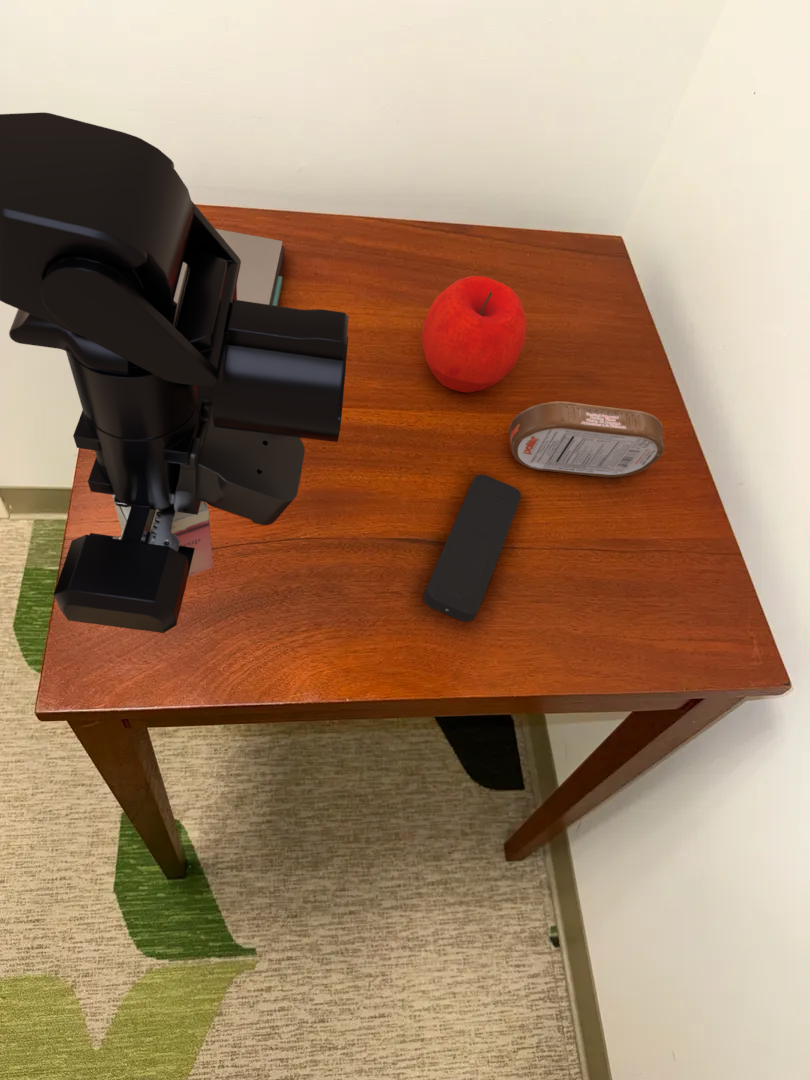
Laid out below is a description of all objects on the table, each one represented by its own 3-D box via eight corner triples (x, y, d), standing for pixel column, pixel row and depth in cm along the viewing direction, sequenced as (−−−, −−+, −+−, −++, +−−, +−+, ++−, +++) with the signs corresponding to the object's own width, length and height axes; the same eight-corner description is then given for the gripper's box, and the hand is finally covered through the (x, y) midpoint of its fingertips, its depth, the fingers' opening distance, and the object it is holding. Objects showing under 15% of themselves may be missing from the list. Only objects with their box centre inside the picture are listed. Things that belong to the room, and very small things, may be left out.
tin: (639, 461, 79) (677, 409, 72) (643, 487, 77) (684, 436, 70) (497, 446, 77) (523, 391, 69) (499, 472, 75) (526, 418, 68)
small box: (144, 594, 52) (129, 536, 45) (124, 543, 54) (106, 479, 47) (215, 569, 54) (211, 509, 47) (194, 520, 56) (186, 456, 49)
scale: (153, 335, 76) (150, 314, 74) (183, 242, 83) (181, 220, 81) (268, 354, 78) (269, 334, 75) (287, 261, 85) (288, 240, 82)
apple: (421, 419, 77) (447, 331, 66) (402, 346, 81) (424, 252, 71) (513, 415, 79) (553, 329, 69) (490, 344, 84) (524, 253, 73)
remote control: (472, 480, 75) (419, 603, 66) (477, 469, 73) (423, 593, 65) (518, 500, 74) (472, 625, 66) (524, 489, 73) (477, 616, 65)
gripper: (268, 579, 35) (263, 690, 49) (319, 298, 45) (303, 455, 58) (17, 543, 34) (82, 667, 47) (125, 262, 44) (154, 431, 57)
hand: (167, 545), depth 52 cm, fingers closed on small box, 6 cm apart
